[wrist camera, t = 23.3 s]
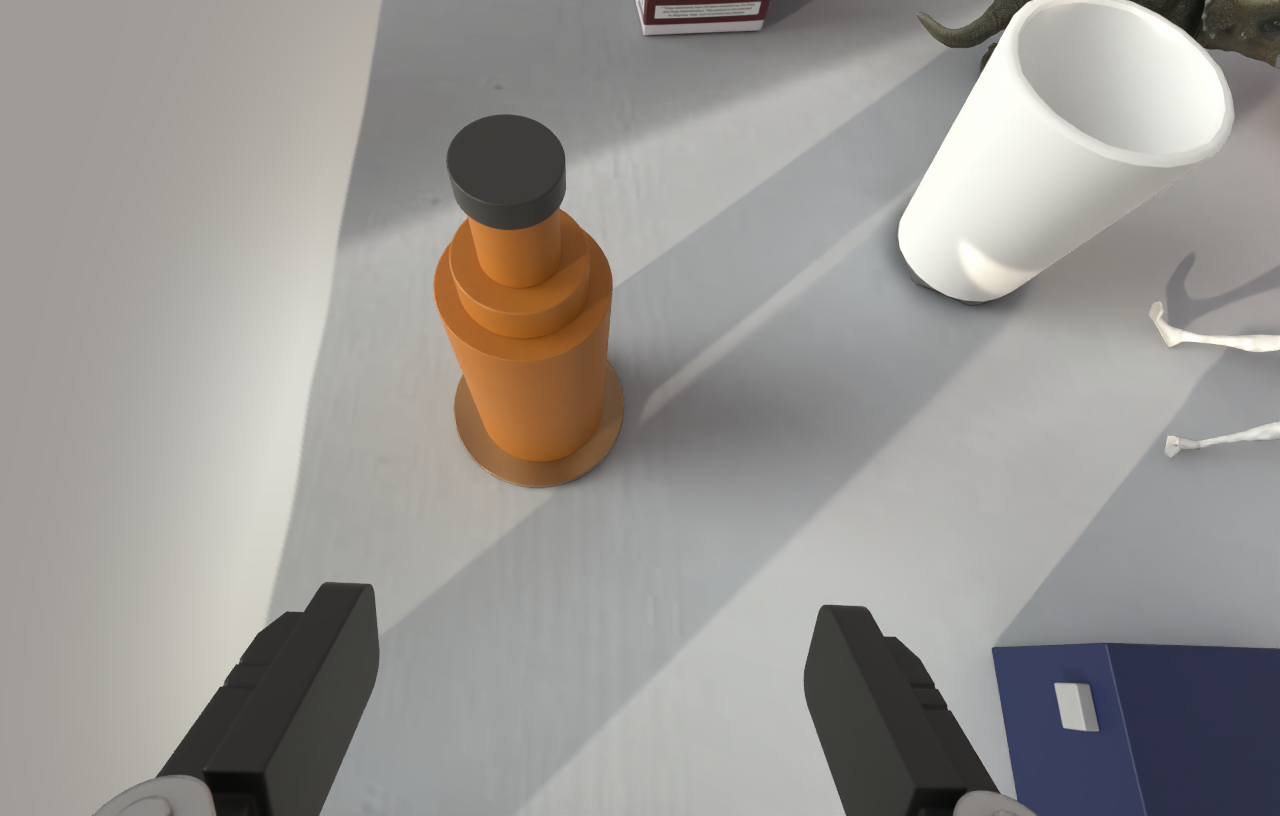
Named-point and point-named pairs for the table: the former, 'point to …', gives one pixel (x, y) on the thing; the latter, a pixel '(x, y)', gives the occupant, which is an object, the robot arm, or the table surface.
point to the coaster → (530, 471)
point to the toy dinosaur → (1197, 3)
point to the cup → (1061, 143)
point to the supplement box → (700, 15)
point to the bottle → (524, 291)
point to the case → (1142, 728)
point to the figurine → (1239, 341)
